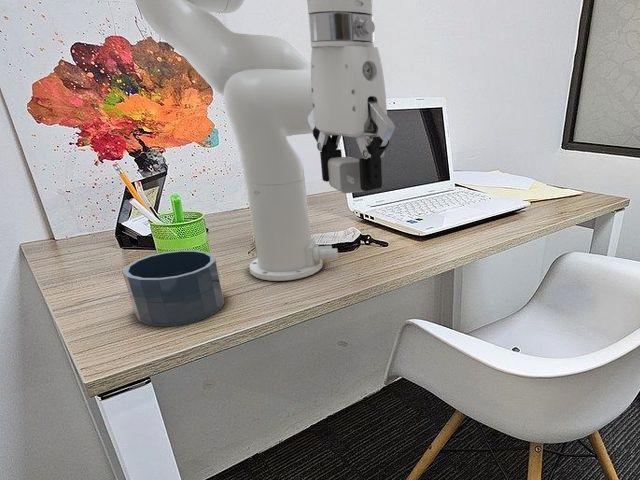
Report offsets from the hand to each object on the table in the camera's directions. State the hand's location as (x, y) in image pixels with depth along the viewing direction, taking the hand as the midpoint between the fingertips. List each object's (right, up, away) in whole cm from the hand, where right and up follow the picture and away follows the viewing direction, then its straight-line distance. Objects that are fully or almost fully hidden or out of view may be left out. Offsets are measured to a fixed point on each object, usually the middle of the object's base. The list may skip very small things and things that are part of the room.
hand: (351, 183), depth 64 cm
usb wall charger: (0, -1, 0) cm, 1 cm away
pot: (-26, -17, +6) cm, 32 cm away
